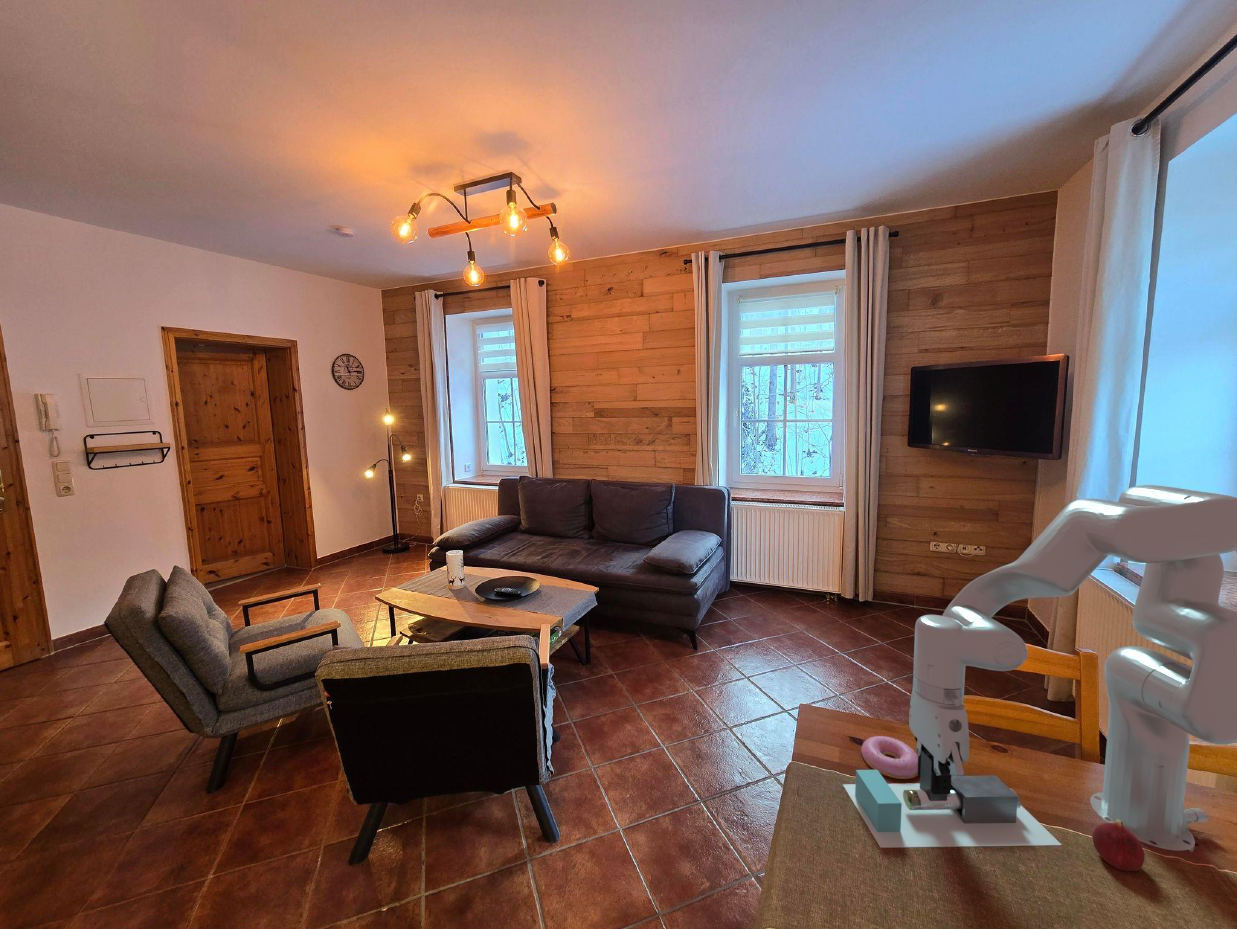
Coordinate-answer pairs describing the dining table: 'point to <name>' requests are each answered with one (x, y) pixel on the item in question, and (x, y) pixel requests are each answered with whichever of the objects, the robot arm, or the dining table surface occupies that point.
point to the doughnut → (896, 768)
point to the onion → (1118, 846)
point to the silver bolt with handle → (925, 797)
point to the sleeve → (985, 800)
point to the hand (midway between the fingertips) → (933, 783)
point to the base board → (953, 827)
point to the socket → (878, 801)
